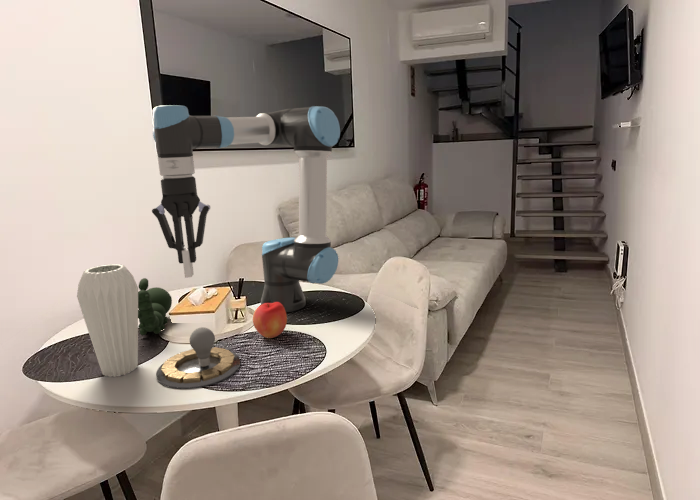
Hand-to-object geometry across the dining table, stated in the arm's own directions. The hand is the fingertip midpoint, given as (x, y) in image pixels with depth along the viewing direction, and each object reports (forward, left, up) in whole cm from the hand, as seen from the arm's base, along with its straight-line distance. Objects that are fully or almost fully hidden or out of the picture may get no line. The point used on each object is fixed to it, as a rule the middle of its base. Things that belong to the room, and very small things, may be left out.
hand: (189, 275), depth 113 cm
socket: (0, 0, -24) cm, 24 cm away
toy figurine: (-31, -19, -24) cm, 44 cm away
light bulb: (0, +1, -24) cm, 24 cm away
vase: (-3, -20, -24) cm, 32 cm away
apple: (-17, +17, -24) cm, 34 cm away
